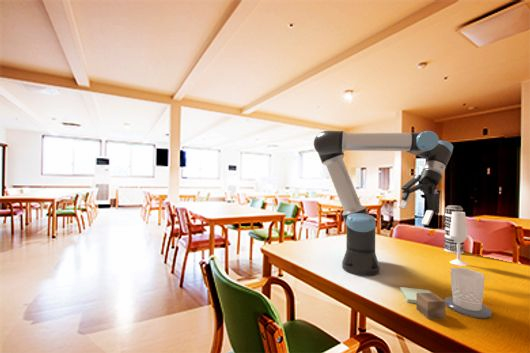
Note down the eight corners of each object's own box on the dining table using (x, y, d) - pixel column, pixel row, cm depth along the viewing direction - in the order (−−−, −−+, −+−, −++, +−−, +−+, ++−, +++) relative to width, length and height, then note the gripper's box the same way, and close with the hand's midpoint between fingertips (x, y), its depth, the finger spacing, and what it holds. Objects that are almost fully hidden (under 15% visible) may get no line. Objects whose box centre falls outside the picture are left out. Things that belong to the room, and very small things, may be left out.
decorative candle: (439, 248, 137) (439, 204, 137) (457, 249, 135) (457, 205, 136) (449, 253, 128) (449, 206, 128) (468, 254, 126) (468, 206, 127)
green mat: (407, 302, 76) (407, 299, 76) (400, 289, 85) (400, 286, 85) (440, 306, 74) (440, 303, 74) (429, 293, 82) (429, 290, 82)
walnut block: (427, 319, 67) (427, 301, 67) (416, 309, 72) (416, 292, 72) (445, 319, 67) (445, 301, 67) (433, 309, 72) (433, 293, 72)
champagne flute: (467, 267, 108) (467, 213, 108) (448, 263, 112) (448, 212, 112) (468, 263, 113) (468, 212, 113) (450, 259, 117) (450, 210, 117)
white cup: (491, 314, 68) (491, 278, 68) (459, 310, 70) (459, 276, 70) (473, 300, 76) (473, 268, 76) (445, 297, 78) (445, 266, 78)
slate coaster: (454, 314, 69) (454, 312, 69) (438, 296, 80) (438, 294, 80) (501, 321, 66) (501, 318, 66) (478, 301, 77) (478, 299, 77)
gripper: (420, 156, 98) (400, 201, 93) (459, 188, 103) (442, 232, 99) (404, 158, 105) (385, 200, 101) (442, 188, 110) (425, 229, 106)
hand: (413, 216), depth 100 cm, fingers open, 13 cm apart
